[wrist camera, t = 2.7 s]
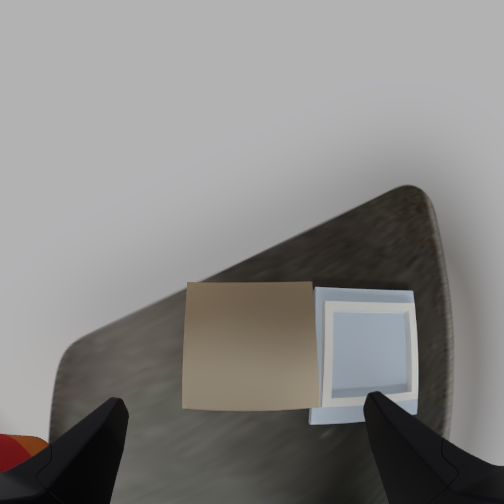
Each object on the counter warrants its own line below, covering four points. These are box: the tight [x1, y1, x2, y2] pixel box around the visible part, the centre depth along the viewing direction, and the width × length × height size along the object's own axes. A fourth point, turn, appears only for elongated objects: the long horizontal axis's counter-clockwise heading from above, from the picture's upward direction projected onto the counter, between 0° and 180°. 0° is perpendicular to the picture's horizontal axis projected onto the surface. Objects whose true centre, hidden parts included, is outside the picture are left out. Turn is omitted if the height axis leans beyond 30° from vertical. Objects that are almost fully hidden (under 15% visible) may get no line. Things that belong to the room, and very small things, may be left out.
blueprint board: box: [308, 287, 418, 425], centre depth 18 cm, size 10×8×2 cm
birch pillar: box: [182, 281, 320, 411], centre depth 14 cm, size 4×4×11 cm
